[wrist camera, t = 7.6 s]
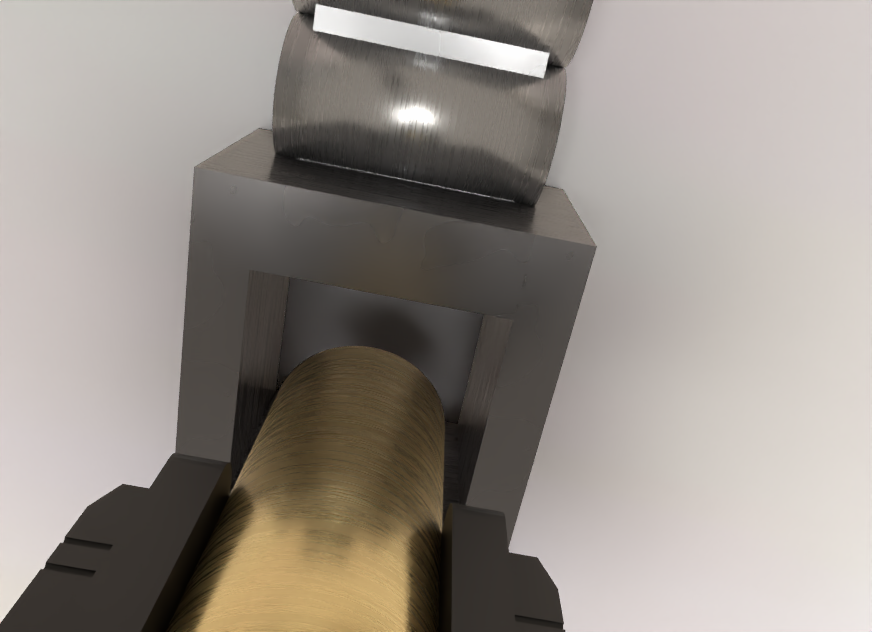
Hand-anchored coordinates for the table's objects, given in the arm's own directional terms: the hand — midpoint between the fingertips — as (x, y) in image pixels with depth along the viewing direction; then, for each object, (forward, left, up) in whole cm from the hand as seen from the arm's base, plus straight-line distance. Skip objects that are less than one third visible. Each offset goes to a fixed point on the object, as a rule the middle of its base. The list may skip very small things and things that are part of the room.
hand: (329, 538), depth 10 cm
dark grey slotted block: (+4, 0, -7) cm, 8 cm away
